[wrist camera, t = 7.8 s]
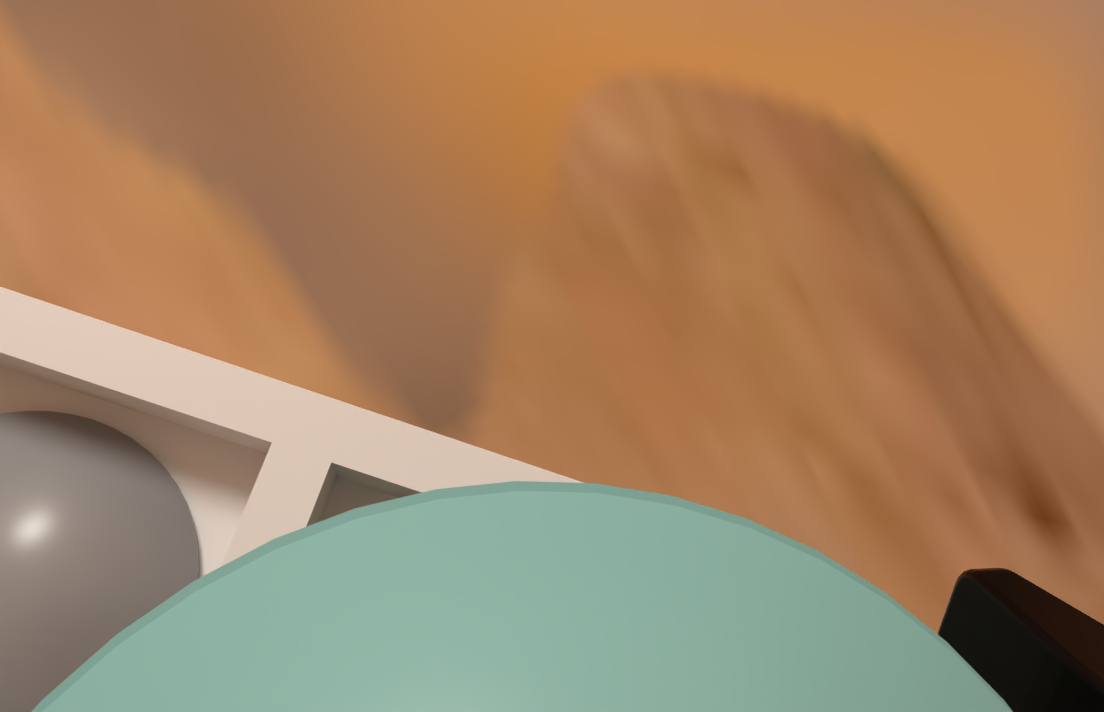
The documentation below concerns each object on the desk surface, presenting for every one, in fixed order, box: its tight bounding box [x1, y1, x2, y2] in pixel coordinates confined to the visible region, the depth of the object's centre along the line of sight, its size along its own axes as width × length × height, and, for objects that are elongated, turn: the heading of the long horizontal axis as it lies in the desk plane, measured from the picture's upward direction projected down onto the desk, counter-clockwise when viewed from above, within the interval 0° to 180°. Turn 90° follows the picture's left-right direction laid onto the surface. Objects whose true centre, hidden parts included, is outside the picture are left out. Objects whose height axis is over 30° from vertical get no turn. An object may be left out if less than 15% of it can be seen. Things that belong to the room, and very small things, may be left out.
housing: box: [0, 287, 583, 712], centre depth 15 cm, size 9×16×2 cm, turn 73°
